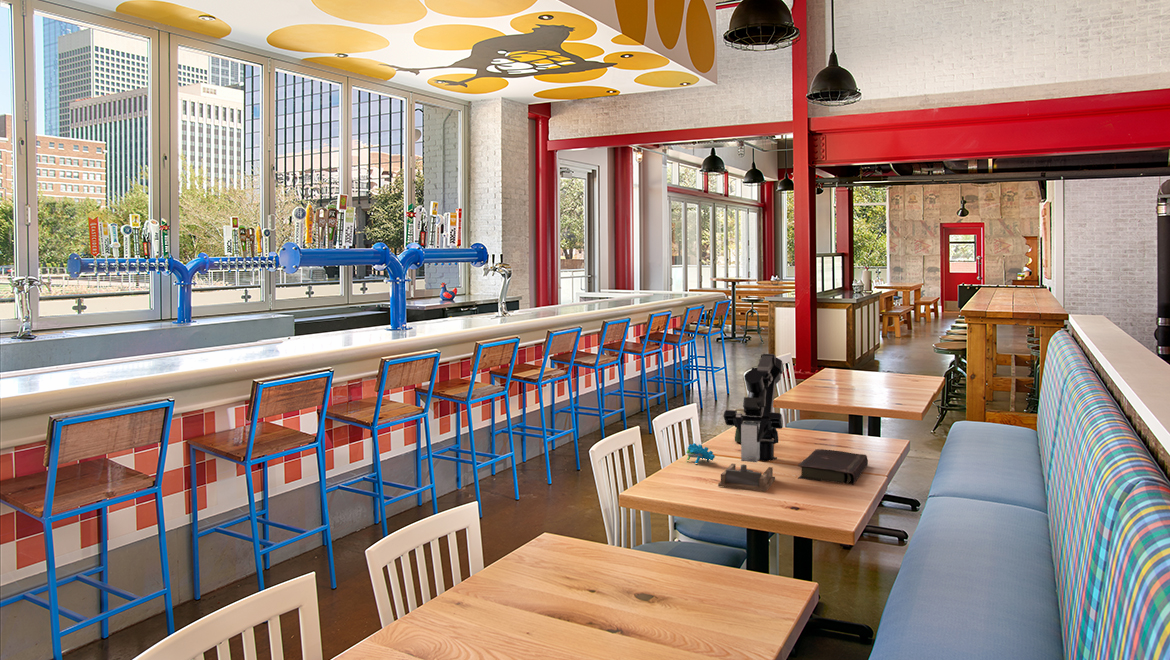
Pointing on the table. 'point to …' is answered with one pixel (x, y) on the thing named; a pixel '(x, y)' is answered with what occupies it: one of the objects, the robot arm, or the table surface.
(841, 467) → the diary
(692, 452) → the blue spiky toy dinosaur
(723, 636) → the table surface
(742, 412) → the character mug
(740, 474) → the keeper cradle
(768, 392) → the robot arm
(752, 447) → the steel link block
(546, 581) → the table surface
